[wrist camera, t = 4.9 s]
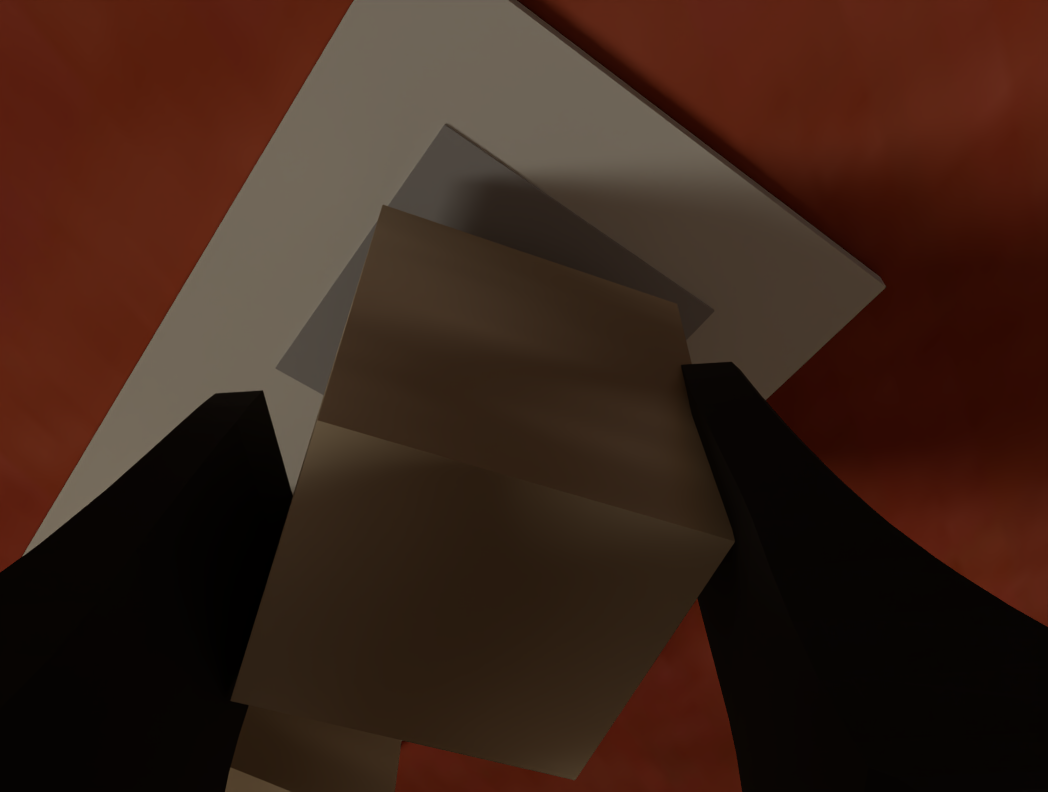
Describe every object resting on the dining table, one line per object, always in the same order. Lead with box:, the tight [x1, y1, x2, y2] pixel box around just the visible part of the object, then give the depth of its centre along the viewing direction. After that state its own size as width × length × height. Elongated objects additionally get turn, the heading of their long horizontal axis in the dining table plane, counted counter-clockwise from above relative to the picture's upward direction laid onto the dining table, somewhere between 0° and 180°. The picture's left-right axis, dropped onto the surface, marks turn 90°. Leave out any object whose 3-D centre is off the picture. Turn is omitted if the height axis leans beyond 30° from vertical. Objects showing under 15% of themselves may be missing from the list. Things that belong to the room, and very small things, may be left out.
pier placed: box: [225, 705, 401, 792], centre depth 16 cm, size 4×4×4 cm
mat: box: [22, 0, 886, 742], centre depth 16 cm, size 8×15×1 cm, turn 144°
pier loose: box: [230, 205, 735, 780], centre depth 12 cm, size 4×4×4 cm
